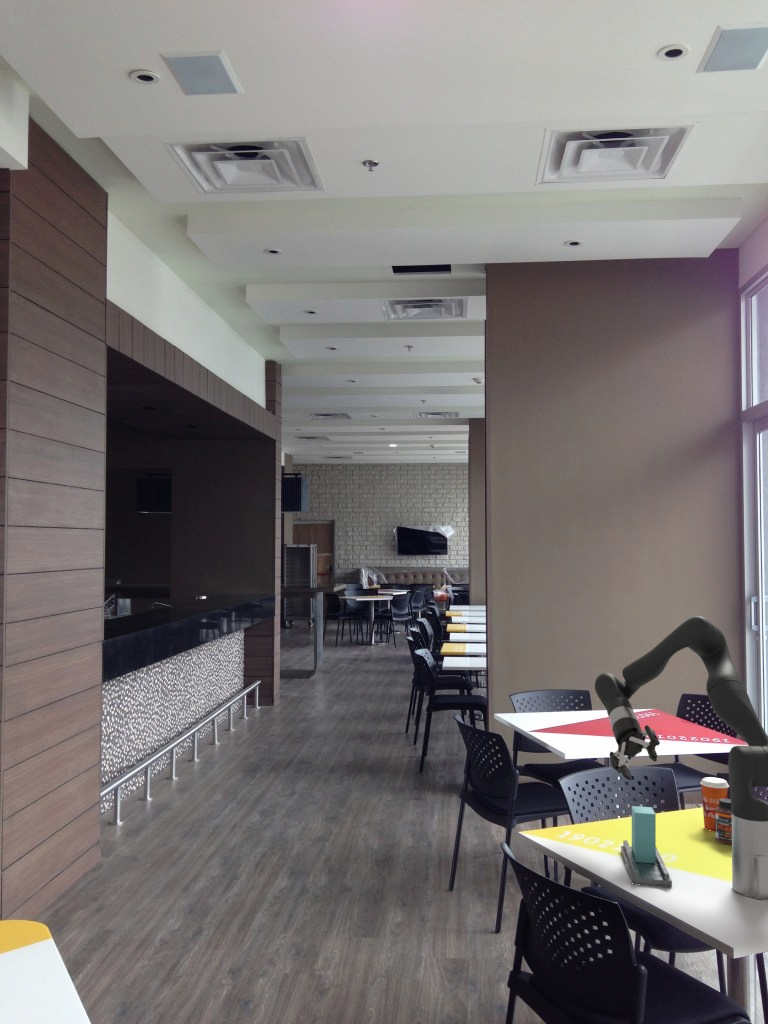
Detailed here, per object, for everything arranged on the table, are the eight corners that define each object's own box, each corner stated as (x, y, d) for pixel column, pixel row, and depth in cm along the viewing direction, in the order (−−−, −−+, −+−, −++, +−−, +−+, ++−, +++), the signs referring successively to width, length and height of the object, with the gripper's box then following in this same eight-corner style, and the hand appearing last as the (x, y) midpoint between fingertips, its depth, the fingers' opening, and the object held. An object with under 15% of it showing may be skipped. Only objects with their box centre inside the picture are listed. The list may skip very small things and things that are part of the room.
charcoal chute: (620, 851, 217) (620, 840, 217) (656, 854, 216) (656, 842, 216) (632, 884, 195) (632, 871, 195) (671, 887, 193) (671, 874, 193)
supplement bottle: (715, 843, 225) (715, 801, 226) (714, 837, 231) (714, 796, 231) (739, 846, 223) (738, 804, 224) (738, 840, 229) (737, 798, 229)
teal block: (631, 853, 211) (631, 806, 212) (652, 855, 210) (651, 807, 211) (634, 861, 205) (634, 812, 206) (655, 863, 204) (655, 814, 205)
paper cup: (697, 829, 237) (697, 780, 238) (704, 823, 243) (704, 775, 244) (726, 835, 232) (725, 785, 233) (732, 828, 239) (731, 779, 240)
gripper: (654, 718, 227) (671, 760, 212) (615, 748, 232) (629, 791, 217) (636, 704, 225) (652, 745, 210) (597, 734, 230) (610, 777, 215)
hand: (641, 768), depth 214 cm, fingers open, 8 cm apart
